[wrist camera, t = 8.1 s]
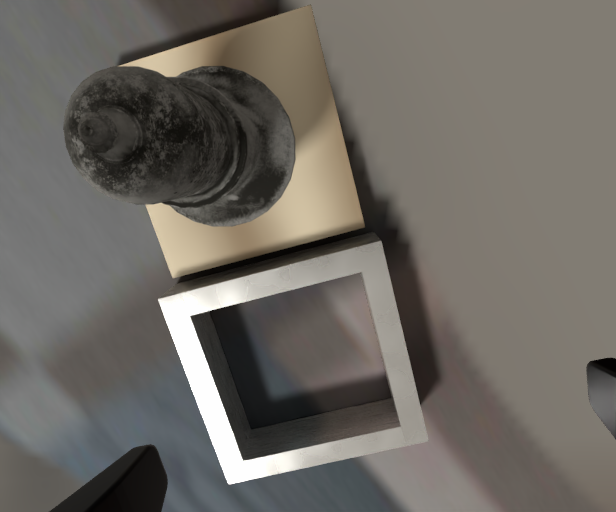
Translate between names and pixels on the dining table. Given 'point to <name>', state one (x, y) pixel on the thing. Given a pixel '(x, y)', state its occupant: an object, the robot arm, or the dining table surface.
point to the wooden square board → (308, 145)
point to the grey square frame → (314, 429)
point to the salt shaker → (182, 141)
